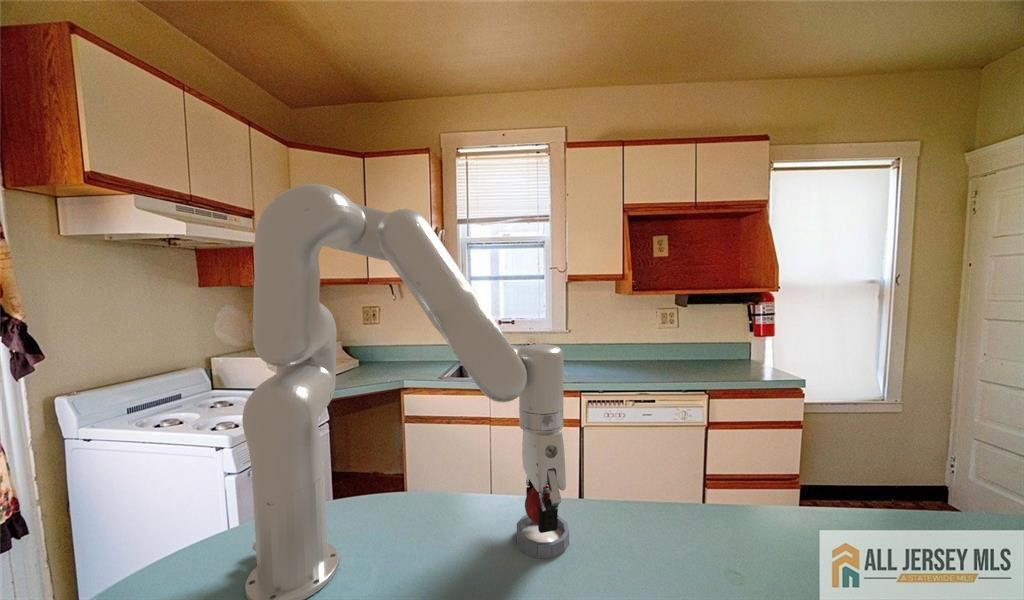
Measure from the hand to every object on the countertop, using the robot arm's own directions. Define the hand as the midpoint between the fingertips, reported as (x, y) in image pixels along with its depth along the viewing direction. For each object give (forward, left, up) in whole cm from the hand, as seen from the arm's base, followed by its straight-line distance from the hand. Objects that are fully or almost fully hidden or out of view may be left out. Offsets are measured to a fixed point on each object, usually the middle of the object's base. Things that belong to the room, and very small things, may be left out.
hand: (541, 517), depth 69 cm
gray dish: (0, 0, -4) cm, 4 cm away
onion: (0, 0, -2) cm, 2 cm away
